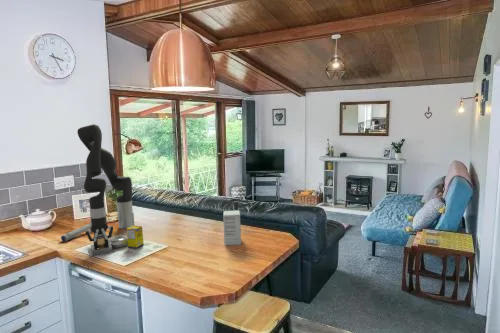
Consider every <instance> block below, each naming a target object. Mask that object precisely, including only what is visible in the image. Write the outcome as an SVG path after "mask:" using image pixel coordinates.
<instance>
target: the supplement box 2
mask: <svg viewBox="0 0 500 333" xmlns="http://www.w3.org/2000/svg"><path fill="white" fill-rule="evenodd" d="M222 217H223V218H222V220H223V221H222V223H223V242H224V244H223V245H224V246H235V245H237V246H238V245H242V231H241V230H242V229H241V212H240V210H224V211H223V215H222Z"/></svg>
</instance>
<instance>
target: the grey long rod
mask: <svg viewBox="0 0 500 333" xmlns="http://www.w3.org/2000/svg"><path fill="white" fill-rule="evenodd" d="M89 229H91V221H90V223H89V222H88V223H87V224H84V225H83V226H80V227H78V228H75V229H74V230H72V231H69V232H65V233H64V234H63V235H61V237H60V239H61V241H62V242H65V243H66V242H68V241H70V240H72V239H73V238H75V237H77V236H79V235H81V234H83V233H86V230H89Z"/></svg>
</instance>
